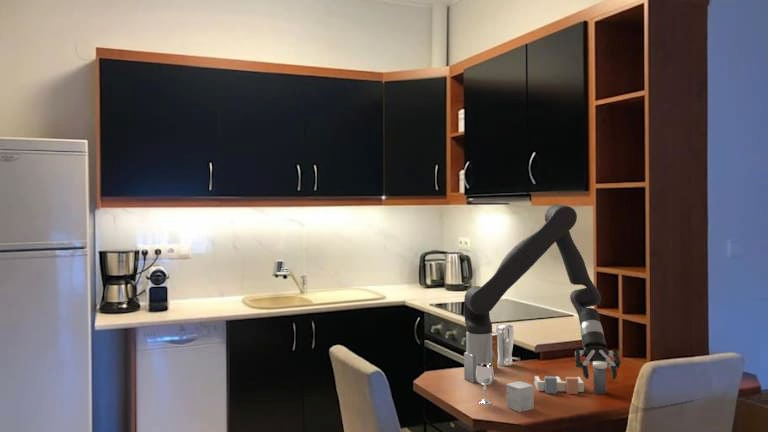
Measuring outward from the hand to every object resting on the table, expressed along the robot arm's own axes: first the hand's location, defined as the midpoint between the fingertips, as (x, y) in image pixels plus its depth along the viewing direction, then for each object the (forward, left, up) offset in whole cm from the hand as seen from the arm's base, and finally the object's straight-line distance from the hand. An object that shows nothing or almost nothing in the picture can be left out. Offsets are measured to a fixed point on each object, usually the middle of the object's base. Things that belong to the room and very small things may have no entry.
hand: (600, 378), depth 203 cm
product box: (-33, 0, -5) cm, 33 cm away
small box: (-18, +43, -5) cm, 47 cm away
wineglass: (-40, +9, -5) cm, 41 cm away
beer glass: (-8, +44, -5) cm, 45 cm away
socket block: (-9, +10, -5) cm, 14 cm away
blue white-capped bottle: (0, +1, -5) cm, 5 cm away
